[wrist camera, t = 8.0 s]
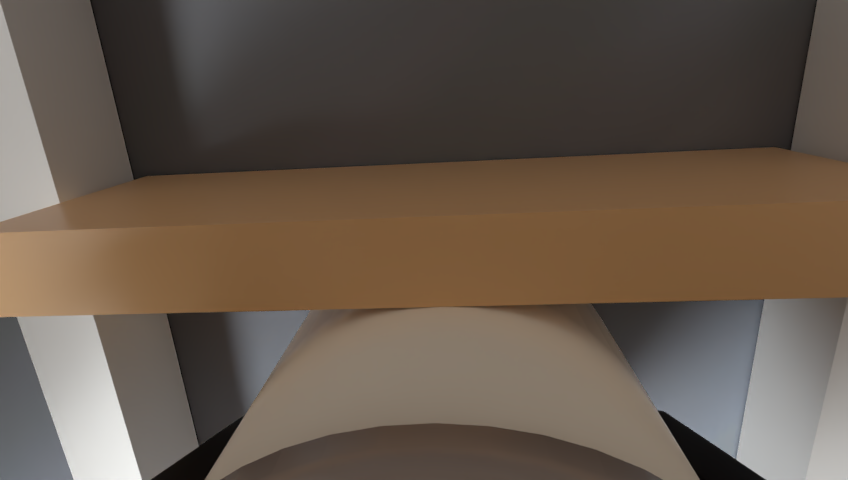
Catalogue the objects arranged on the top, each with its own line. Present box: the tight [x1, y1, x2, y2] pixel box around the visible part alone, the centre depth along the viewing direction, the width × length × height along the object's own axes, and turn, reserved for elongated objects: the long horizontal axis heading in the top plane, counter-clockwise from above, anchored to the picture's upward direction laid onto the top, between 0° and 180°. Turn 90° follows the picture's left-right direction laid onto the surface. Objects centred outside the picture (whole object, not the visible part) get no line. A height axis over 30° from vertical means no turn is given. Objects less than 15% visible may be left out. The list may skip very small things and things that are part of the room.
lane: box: [0, 0, 848, 480], centre depth 9 cm, size 16×22×4 cm
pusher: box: [0, 147, 848, 317], centre depth 8 cm, size 12×1×4 cm, turn 93°
